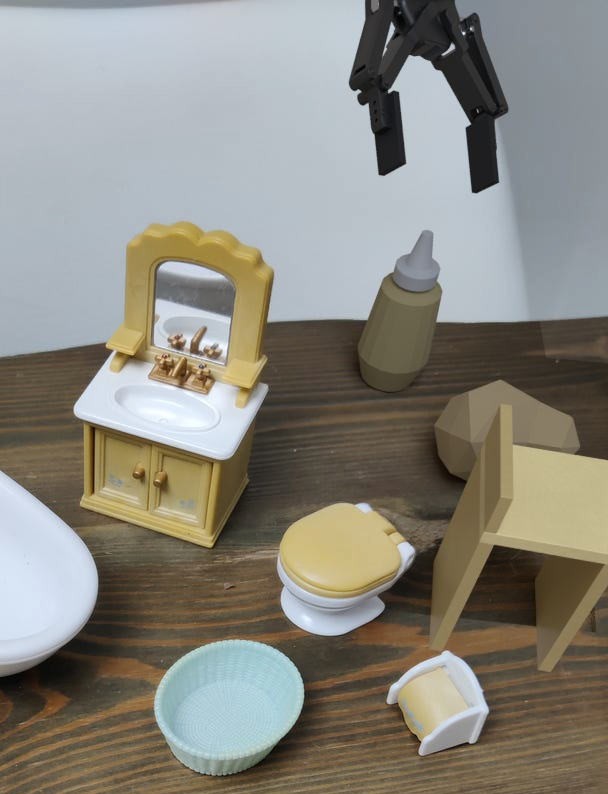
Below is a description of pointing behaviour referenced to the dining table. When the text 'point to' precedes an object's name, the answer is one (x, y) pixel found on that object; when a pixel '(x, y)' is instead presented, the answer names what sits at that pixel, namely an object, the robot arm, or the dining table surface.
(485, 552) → the tan chair
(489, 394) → the low-poly potato
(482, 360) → the dining table surface
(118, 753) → the dining table surface
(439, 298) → the squeeze bottle
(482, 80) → the robot arm
